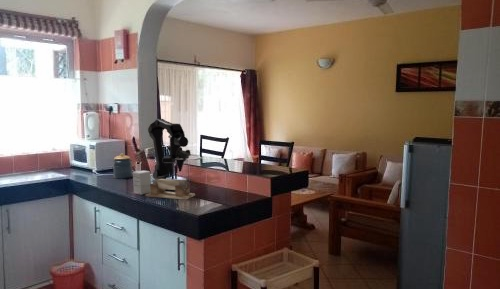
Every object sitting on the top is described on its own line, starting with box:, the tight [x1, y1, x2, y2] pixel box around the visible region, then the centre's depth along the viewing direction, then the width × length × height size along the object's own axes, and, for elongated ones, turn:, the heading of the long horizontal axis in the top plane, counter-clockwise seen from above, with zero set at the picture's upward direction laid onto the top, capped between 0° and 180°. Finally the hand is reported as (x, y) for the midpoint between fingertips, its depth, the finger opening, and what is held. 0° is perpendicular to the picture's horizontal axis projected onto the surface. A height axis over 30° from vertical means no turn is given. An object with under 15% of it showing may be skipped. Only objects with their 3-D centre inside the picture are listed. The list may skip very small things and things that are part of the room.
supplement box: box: [132, 170, 152, 195], centre depth 216 cm, size 7×7×13 cm
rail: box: [152, 178, 188, 191], centre depth 208 cm, size 4×20×5 cm, turn 70°
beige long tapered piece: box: [144, 182, 196, 200], centre depth 208 cm, size 10×26×7 cm, turn 70°
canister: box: [112, 152, 133, 180], centre depth 269 cm, size 13×13×18 cm
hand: (176, 172), depth 214 cm, fingers open, 9 cm apart
